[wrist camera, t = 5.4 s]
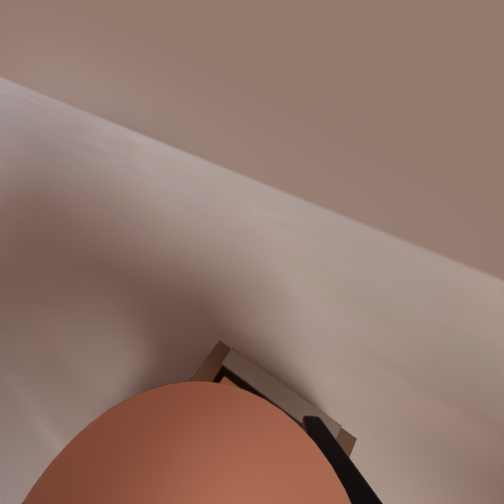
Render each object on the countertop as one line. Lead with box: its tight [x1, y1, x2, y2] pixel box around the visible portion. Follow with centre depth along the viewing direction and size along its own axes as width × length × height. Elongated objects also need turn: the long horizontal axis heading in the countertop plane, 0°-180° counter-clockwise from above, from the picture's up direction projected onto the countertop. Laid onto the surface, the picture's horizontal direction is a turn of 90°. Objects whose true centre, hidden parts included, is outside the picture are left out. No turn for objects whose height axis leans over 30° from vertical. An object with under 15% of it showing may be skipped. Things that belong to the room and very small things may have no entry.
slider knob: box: [22, 376, 351, 504], centre depth 7 cm, size 4×5×11 cm
